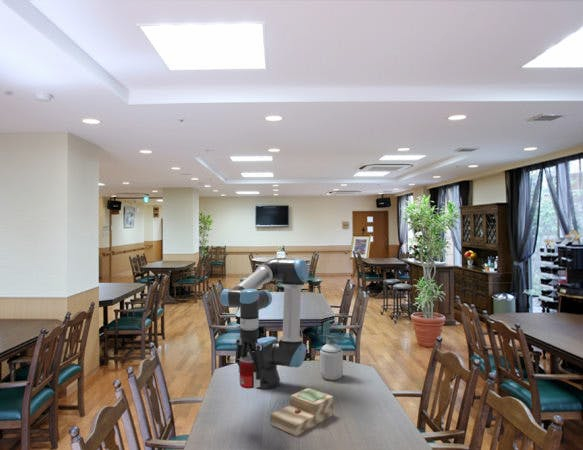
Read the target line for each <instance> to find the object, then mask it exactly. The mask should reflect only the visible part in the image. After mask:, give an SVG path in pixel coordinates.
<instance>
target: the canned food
mask: <svg viewBox="0 0 583 450" xmlns="http://www.w3.org/2000/svg"><path fill="white" fill-rule="evenodd" d="M254 371H255V368H254V362H253V360H252V357H251V355H250V354H247V356H245V357H240V382H239V386H240V387H241V388H243V389H247V390H249V389H255V388H254Z"/></svg>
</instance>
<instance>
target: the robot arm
mask: <svg viewBox="0 0 583 450" xmlns="http://www.w3.org/2000/svg"><path fill="white" fill-rule="evenodd" d="M272 281H279V282H280V281H281V285H282V287H283V289H284V290H283V291H284V292H283V311H282V313H283V315H282V335H281V337H279V339H278V338H277V336H276V337H275V336H266V337H265V336H264V337H260V338H259V336H260V335H259V334H260V329H259V327H260V326H259V325H260V321H259V319H260V316H259V314H260V313H259V312H260V310H263V309H266V308H267V307H269V306H270V305H271V304H272V302H273V296H272V293H271V292H270V291H269V290H267V289H260V290H259V288H261V287H262V286H264V284H267V283H270V282H272ZM307 281H309V267H308V264H307V262H306V261H305V260H304V259H302V258H286V257H285V258H283V257H282V258H279V257H276V258H271V259H269V260H266V261H265V262H263V263H261V264H260V265H258V266H257V267H256V269H255V271H254V272H252V273H251V274H250V275H249V276H247V277H246V278H245V279H243V280H242V281H241V282H239V283H238V284H237V285H236V286H234V287H233V288H224V289H223V290H221V293H220V295H219V299H220V303H221V305H222V306H224V307H229V308H231V307H232V308H233V307H234V308H239V311H240V312H239V314H240V315H239V319H240V320H239V323H240V324H239V327H240V329H239V337H240V339H236V347H235V348H236V350H235V358H234V359H235V360H234V363H235V364H237V365H238V375H239V376H238V377H239V383H240V357H245V356H247V355H248V354H249V355H251V357H252V360H253V362H254V368H255V371H254V388H253V389H259V390H260V389H261V390H262V389H263V390H267V389H274V388H276V387H278V386H280V384H281V378H280V374H279V370H278V367H277V366H280V367H281V366H283V367H289V368H300V367H301V366H302V365H303V363H304V361H305V359H306V353H307V346H306V344H305V343H303V339H302V338H301V336H300V326H301V324H300V323H301V304H302V303H301V300H302V288H303V287H304V286H305V283H306V282H307Z"/></svg>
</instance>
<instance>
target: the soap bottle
mask: <svg viewBox="0 0 583 450" xmlns="http://www.w3.org/2000/svg"><path fill="white" fill-rule="evenodd" d="M337 320H338V319H336V318H335V319H331V320H326V321H325V322H323V324H322V325H323V326H322V332H323V335H324V337H328V340H327V341H326V344H324V345H322V347H320V351H319V371H320V372H319V373H320V375H321V377H322V378H324V379H325V380H327V381H337V380H339V379H341V377H343V374H344V351H343V348H342V347H340V346H339V345H338V344H337V341H335V340H334V339H335V338H337V337H339V335H338V334H335V333H331V332H330V331H331V330H330V323H331V322H334V321H337Z"/></svg>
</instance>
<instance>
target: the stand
mask: <svg viewBox="0 0 583 450" xmlns="http://www.w3.org/2000/svg"><path fill="white" fill-rule="evenodd" d="M289 399H290V400H289V402H290V403H289V405H288V406H285V407H283V408H280V409H279V410H277V411H275V412H274V411H273V412H272V413H270V416H269V417H270V421H269V422H270V423H269V424H270V425H271V426H273V427H276V428H277V429H280V430H282V431H284V432H286V433H289V434H290V435H292V436H295V437H296V436H297V437H298V436H299V435H300V434H302V433H304V432H306V431H307V430H309V429H311V428H314V427H315V426H317V425H318V424H320V423H321V422H324V421H325V420H327V419H328V418H330V417H332V416H334V396H333V395H332V394H328V393H325V392H322V391H319V390H316V389H314V388H310V387H307V388H305V389H302V390H299V391H298V392H296V393H293V394H291V395H290V398H289Z"/></svg>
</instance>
